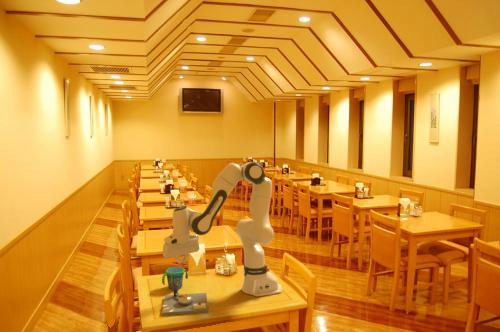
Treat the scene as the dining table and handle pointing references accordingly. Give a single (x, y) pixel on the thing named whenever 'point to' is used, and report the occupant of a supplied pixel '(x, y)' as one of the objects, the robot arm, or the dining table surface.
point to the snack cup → (174, 276)
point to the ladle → (182, 296)
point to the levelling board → (197, 305)
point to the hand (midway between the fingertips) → (181, 262)
